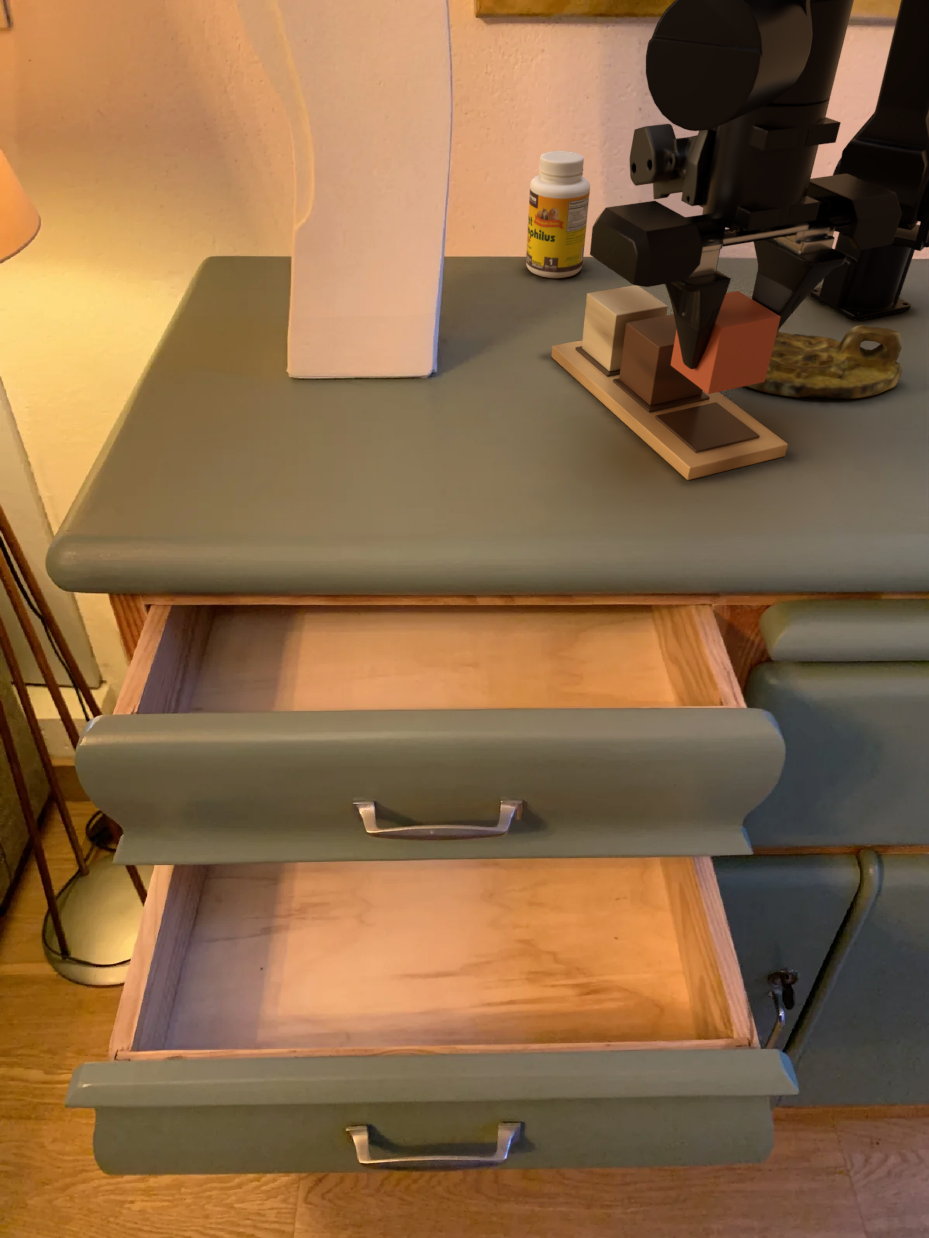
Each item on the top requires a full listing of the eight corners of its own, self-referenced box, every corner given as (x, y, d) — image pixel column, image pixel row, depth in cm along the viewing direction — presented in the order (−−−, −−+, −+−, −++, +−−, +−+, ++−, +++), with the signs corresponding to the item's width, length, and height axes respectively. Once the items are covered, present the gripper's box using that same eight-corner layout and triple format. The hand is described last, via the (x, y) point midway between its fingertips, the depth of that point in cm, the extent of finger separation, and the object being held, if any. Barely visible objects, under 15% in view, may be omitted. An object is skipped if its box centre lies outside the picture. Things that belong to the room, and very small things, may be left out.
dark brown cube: (669, 369, 69) (678, 312, 66) (702, 395, 66) (714, 336, 63) (618, 379, 68) (626, 322, 65) (650, 406, 65) (659, 347, 62)
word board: (635, 341, 75) (644, 273, 72) (785, 456, 62) (806, 380, 58) (550, 357, 73) (556, 288, 69) (687, 480, 59) (703, 403, 56)
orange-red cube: (725, 354, 62) (738, 290, 59) (764, 382, 59) (781, 316, 56) (670, 365, 61) (681, 300, 58) (708, 394, 58) (721, 328, 55)
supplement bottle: (514, 267, 88) (518, 154, 81) (557, 255, 90) (565, 144, 83) (550, 285, 84) (558, 168, 78) (594, 272, 87) (605, 158, 80)
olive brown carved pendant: (697, 399, 70) (899, 420, 67) (707, 345, 66) (921, 365, 64) (705, 337, 76) (890, 354, 73) (714, 285, 72) (910, 301, 70)
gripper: (816, 55, 57) (761, 294, 68) (557, 78, 52) (541, 335, 62) (948, 91, 50) (863, 355, 60) (660, 123, 44) (622, 407, 55)
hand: (720, 360), depth 59 cm, fingers closed on orange-red cube, 4 cm apart
